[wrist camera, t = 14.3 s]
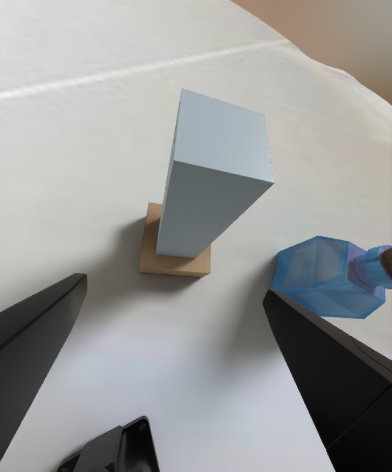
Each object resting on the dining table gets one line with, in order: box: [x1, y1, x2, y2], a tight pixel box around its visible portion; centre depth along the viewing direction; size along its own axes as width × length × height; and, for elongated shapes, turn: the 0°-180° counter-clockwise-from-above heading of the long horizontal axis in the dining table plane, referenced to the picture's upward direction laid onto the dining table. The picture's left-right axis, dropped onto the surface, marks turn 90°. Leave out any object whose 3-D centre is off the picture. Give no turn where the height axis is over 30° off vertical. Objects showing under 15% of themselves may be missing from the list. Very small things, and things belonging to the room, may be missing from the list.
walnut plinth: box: [139, 202, 211, 278], centre depth 20 cm, size 7×7×3 cm
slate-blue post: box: [156, 88, 275, 259], centre depth 13 cm, size 4×4×12 cm
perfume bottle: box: [270, 236, 392, 319], centre depth 19 cm, size 6×6×12 cm
